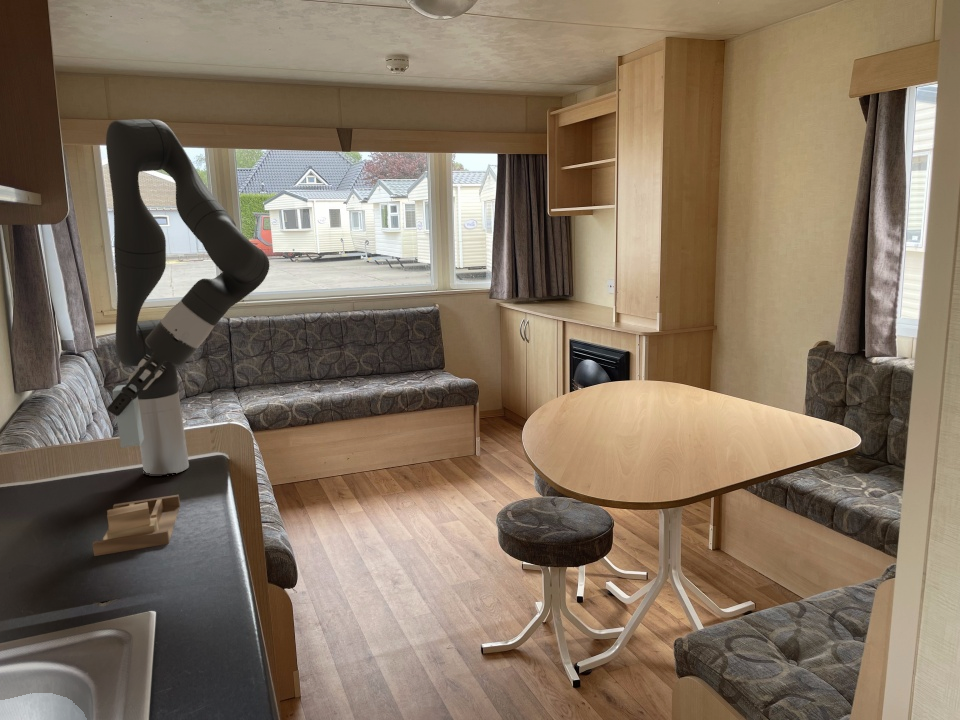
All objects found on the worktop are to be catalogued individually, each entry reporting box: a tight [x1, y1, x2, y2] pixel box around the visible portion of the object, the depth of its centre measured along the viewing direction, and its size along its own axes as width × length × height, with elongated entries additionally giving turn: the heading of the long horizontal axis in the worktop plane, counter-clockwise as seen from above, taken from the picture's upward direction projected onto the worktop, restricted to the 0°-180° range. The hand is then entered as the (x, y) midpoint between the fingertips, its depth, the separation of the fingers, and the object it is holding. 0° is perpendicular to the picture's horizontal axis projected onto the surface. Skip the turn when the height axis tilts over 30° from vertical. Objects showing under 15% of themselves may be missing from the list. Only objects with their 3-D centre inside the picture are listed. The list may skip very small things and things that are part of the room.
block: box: [112, 384, 144, 449], centre depth 123 cm, size 4×3×10 cm, turn 17°
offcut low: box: [106, 517, 159, 539], centre depth 117 cm, size 4×7×3 cm, turn 107°
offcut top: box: [106, 502, 151, 533], centre depth 116 cm, size 3×6×3 cm, turn 117°
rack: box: [91, 494, 181, 557], centre depth 123 cm, size 18×11×3 cm, turn 17°
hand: (115, 408), depth 122 cm, fingers closed on block, 4 cm apart
